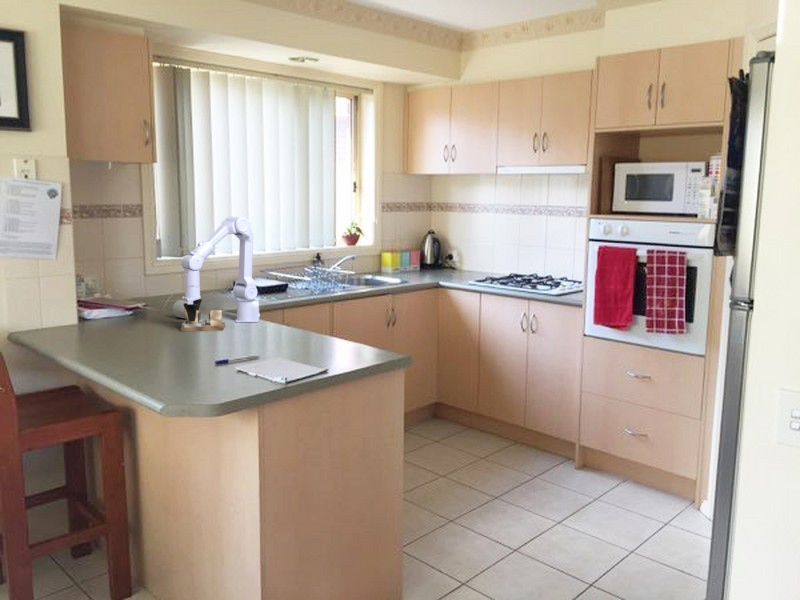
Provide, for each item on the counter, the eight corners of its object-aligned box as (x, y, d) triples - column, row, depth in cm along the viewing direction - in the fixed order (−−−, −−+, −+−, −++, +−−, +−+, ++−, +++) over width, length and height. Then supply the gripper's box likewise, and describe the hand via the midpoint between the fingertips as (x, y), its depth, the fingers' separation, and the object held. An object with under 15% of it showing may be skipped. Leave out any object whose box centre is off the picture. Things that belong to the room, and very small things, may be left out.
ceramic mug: (184, 320, 286) (184, 302, 285) (172, 318, 291) (171, 300, 290) (204, 317, 295) (204, 300, 294) (192, 315, 300) (192, 298, 298)
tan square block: (187, 326, 269) (186, 312, 268) (188, 324, 273) (188, 310, 272) (199, 325, 270) (198, 312, 269) (200, 323, 273) (200, 310, 273)
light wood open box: (225, 326, 278) (224, 309, 276) (223, 330, 269) (222, 313, 268) (184, 326, 275) (184, 309, 274) (180, 331, 266) (180, 313, 265)
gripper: (184, 282, 275) (185, 315, 277) (178, 288, 261) (180, 323, 263) (202, 282, 276) (203, 315, 278) (197, 288, 262) (198, 322, 264)
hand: (193, 319), depth 271 cm, fingers open, 7 cm apart
